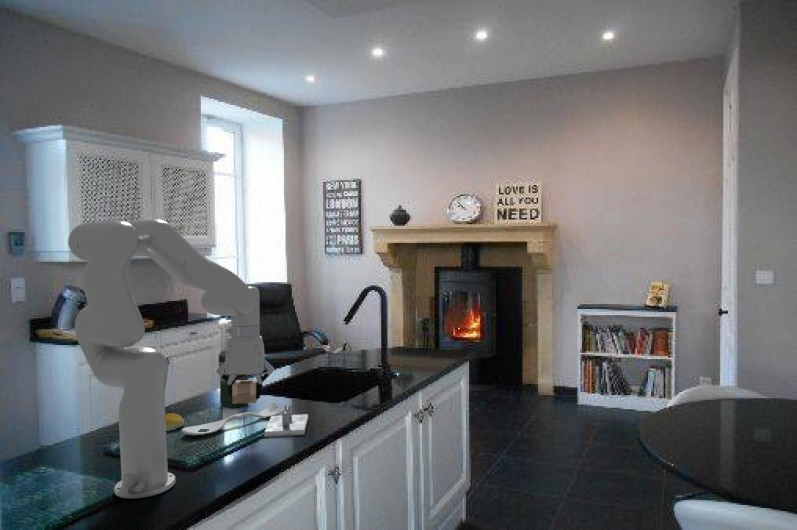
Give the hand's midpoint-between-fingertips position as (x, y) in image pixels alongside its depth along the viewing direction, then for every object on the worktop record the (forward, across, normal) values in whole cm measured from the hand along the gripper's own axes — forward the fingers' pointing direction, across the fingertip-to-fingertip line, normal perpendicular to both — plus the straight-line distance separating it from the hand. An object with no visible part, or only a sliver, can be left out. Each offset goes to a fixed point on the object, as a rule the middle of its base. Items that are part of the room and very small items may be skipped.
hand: (245, 397), depth 159 cm
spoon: (+13, -6, +17) cm, 22 cm away
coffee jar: (+11, -11, +41) cm, 44 cm away
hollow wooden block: (+1, 0, 0) cm, 1 cm away
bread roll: (+13, -26, +19) cm, 34 cm away
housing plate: (+12, +10, +12) cm, 20 cm away
